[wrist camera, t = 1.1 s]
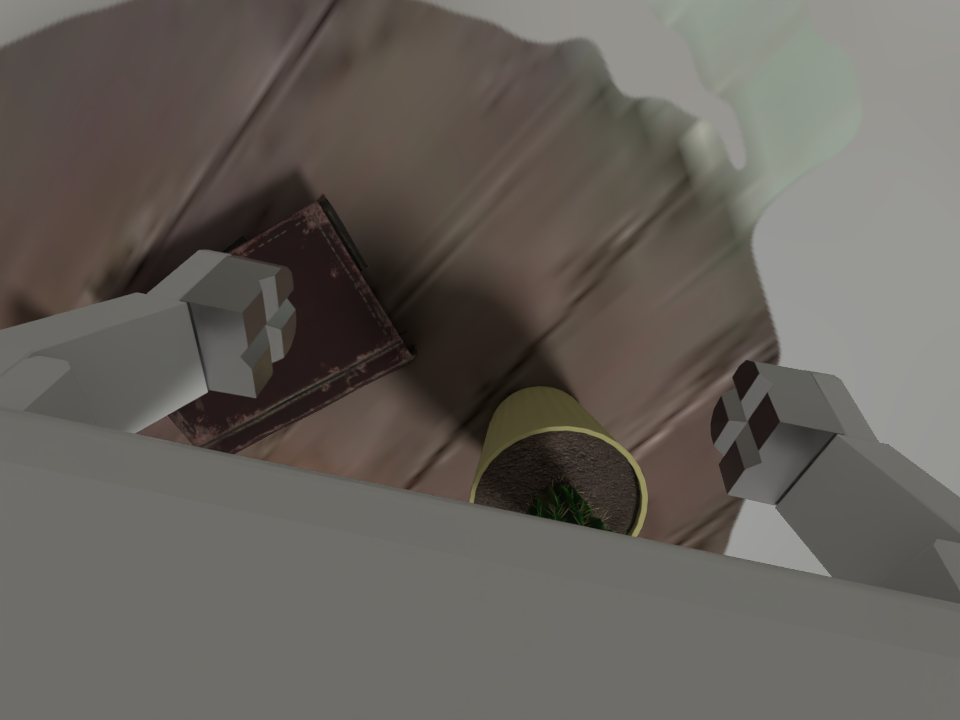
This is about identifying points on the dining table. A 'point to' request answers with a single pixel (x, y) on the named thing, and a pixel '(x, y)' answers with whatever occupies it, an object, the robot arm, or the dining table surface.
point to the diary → (305, 335)
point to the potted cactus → (558, 465)
